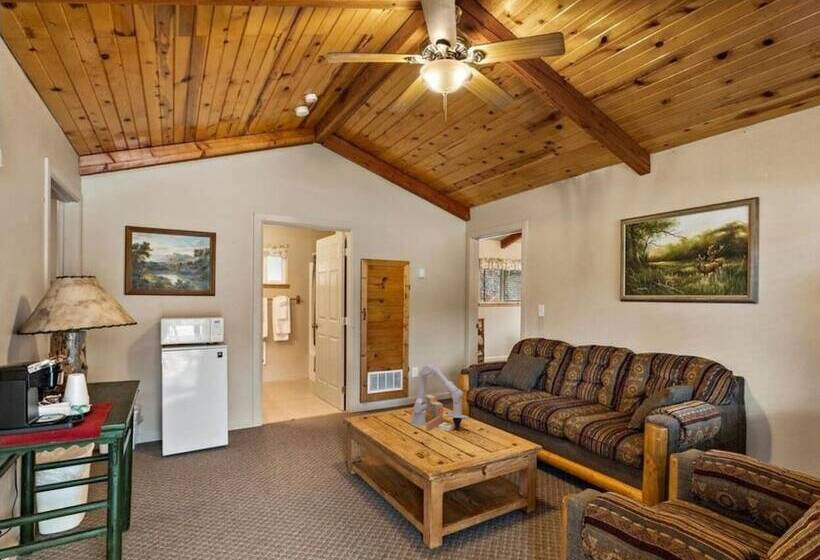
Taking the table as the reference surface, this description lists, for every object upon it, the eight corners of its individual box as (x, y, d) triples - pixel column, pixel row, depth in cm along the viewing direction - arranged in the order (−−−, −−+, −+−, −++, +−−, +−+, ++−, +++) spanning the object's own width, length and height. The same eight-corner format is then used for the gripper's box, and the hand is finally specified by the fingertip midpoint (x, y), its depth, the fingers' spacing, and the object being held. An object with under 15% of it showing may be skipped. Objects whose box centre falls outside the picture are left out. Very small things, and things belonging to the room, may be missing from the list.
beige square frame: (438, 429, 288) (438, 425, 288) (443, 426, 295) (443, 422, 295) (449, 431, 284) (449, 427, 284) (454, 427, 291) (454, 424, 291)
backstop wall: (426, 430, 286) (426, 423, 286) (439, 422, 303) (439, 415, 303) (429, 431, 285) (429, 423, 285) (442, 422, 302) (442, 415, 302)
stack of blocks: (443, 416, 320) (443, 399, 320) (436, 417, 317) (435, 400, 317) (429, 409, 339) (429, 393, 339) (422, 410, 336) (422, 394, 336)
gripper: (444, 408, 286) (445, 429, 286) (465, 411, 279) (465, 432, 278) (449, 406, 292) (449, 426, 292) (469, 408, 285) (469, 429, 284)
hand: (457, 429), depth 285 cm, fingers closed
